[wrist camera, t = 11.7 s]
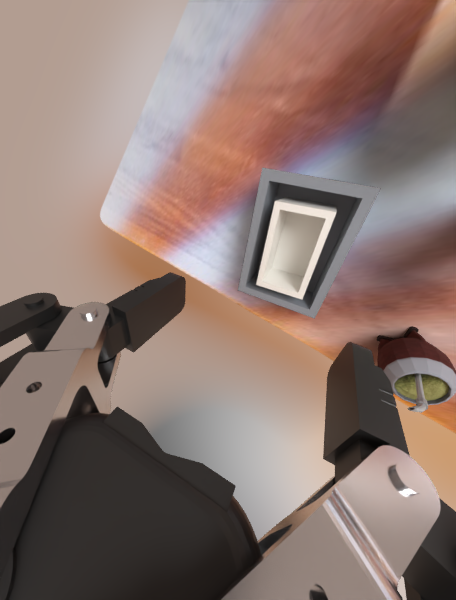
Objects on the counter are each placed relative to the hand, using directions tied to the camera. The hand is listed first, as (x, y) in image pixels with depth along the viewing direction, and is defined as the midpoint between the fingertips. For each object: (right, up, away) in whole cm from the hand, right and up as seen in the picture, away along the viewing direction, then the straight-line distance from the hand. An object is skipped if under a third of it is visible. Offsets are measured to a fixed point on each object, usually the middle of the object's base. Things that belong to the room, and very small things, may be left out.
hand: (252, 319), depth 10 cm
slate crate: (+9, +9, +18) cm, 22 cm away
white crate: (+8, +9, +18) cm, 21 cm away
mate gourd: (+23, -5, +19) cm, 31 cm away
